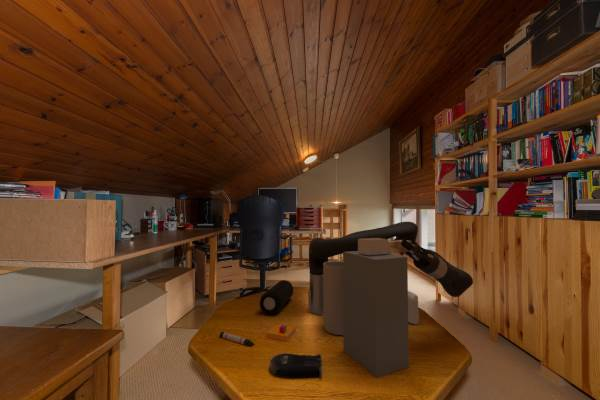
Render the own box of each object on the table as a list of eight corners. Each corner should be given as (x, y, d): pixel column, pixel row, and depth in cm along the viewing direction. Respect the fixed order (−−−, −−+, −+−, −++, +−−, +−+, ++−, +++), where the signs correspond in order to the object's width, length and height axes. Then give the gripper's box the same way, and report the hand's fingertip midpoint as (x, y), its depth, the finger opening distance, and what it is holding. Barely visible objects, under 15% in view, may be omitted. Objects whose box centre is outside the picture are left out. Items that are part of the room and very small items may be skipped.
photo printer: (392, 317, 115) (391, 288, 115) (397, 315, 117) (397, 287, 118) (415, 325, 107) (414, 294, 107) (420, 323, 109) (419, 292, 110)
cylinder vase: (329, 320, 112) (329, 260, 113) (359, 325, 106) (358, 262, 107) (318, 332, 101) (318, 265, 102) (350, 339, 95) (350, 268, 96)
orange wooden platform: (266, 339, 96) (266, 326, 96) (276, 329, 103) (276, 318, 103) (287, 343, 93) (287, 330, 93) (295, 333, 100) (295, 321, 100)
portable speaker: (276, 297, 142) (276, 278, 142) (294, 299, 139) (294, 279, 140) (257, 315, 117) (257, 292, 117) (278, 317, 115) (279, 293, 115)
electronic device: (319, 365, 81) (271, 357, 82) (322, 348, 81) (273, 340, 81) (320, 390, 72) (266, 380, 73) (323, 371, 72) (268, 361, 72)
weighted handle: (402, 249, 93) (402, 236, 93) (414, 251, 88) (413, 238, 88) (358, 253, 85) (357, 238, 85) (368, 255, 80) (368, 240, 80)
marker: (219, 338, 96) (219, 332, 96) (223, 336, 97) (223, 330, 98) (252, 349, 88) (252, 343, 88) (256, 346, 90) (256, 340, 90)
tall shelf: (372, 342, 92) (371, 250, 94) (408, 367, 78) (407, 257, 79) (343, 350, 87) (343, 251, 89) (376, 377, 73) (375, 259, 74)
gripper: (417, 251, 102) (387, 230, 96) (452, 257, 89) (419, 232, 83) (410, 269, 100) (379, 248, 94) (444, 278, 87) (411, 254, 81)
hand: (398, 241), depth 89 cm, fingers closed on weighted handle, 3 cm apart
